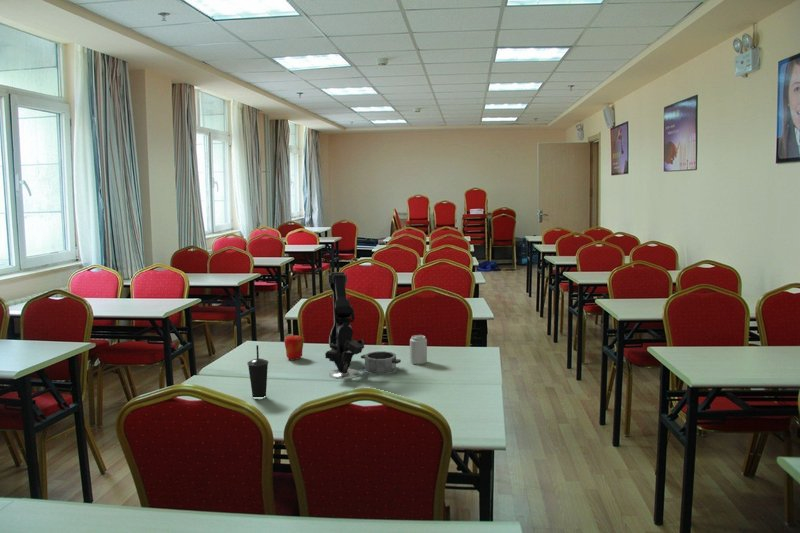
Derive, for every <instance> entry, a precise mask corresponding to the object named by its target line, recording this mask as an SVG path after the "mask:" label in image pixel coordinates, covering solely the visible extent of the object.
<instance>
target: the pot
mask: <svg viewBox="0 0 800 533" xmlns="http://www.w3.org/2000/svg"><path fill="white" fill-rule="evenodd" d="M360 359H362V360H364V370H365V372H367V373H369V374H374V375H375V374H376V375H385V374H390V373H394V372H396V371H397V364H400V363H401V362H402V360H401V359H397V354H396V353H395V352H391V351H386V350H385V351H381V350H380V351H370V352H368V353H365V354H362V355H360Z"/></svg>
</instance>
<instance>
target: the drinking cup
mask: <svg viewBox="0 0 800 533" xmlns="http://www.w3.org/2000/svg"><path fill="white" fill-rule="evenodd" d="M259 356H260V354H259V345H256V358H254V359H251V360H248V361H247V366H248V373H249V380H250V387H251V388H250V389H251V394H252V398H253V397H264V396H266V397H267V385H268V383H267V382H268V366H269V363H270V362H269V361H268V360H267V359H265V358H260V357H259Z"/></svg>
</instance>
